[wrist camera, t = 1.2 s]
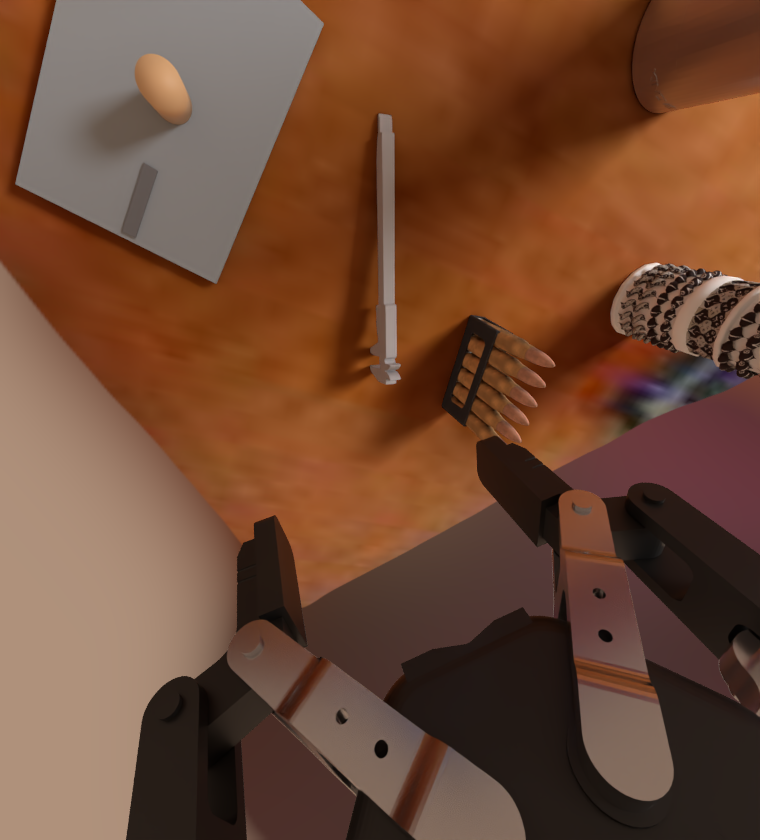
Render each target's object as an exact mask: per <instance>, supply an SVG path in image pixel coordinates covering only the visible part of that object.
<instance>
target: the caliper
mask: <svg viewBox="0 0 760 840" xmlns="http://www.w3.org/2000/svg"><path fill="white" fill-rule="evenodd" d="M376 164H377V224H378V293H379V305H376V315H377V319H376V325H377V334H378V343H377V344H375V345H374V346H373V347H371V348H370V353H372V355H375V356H379V357H380V365H370V370H371V372H372V373H373V375H374V376H375V377H376V378H377V380H378V381H379V382H381V383H384V384H396V380H400V379H401V378H400V375H399V374H398V372H397V371H395V370H396V369H399V367H400V366H401V364H398V363H396V362H395V358H396V357H397V332H396V304H395V156H394V133H392V118H391V115H386V114H378V137H377V161H376Z"/></svg>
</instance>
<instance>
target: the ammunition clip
mask: <svg viewBox="0 0 760 840" xmlns="http://www.w3.org/2000/svg"><path fill="white" fill-rule="evenodd" d="M494 345H495V346H496V347H495V346H494ZM497 347H498V348H497ZM506 352H508V353H509V354H511V355H513V356H516V357H519V358H522V359H525V360H527V361H529V362H531V363H534V364H536V365H539V366H543V367H549V368H551V367H555V363H554V362H553V360H552V359H551V358H550V357H549V356H548V355H546V354H545V353H544V352H542V351H540V350H538V349H536V348H535V347H534V346H532V345H530V344H529V343H528V342H527V341H526V340H524V339H522V338H520V337H518V336H516V335H514V334H513V333H511V332H509V331H508V330H506V329H504V328H502V327H501V326H499V325H497V324H495V323H494V322H492V321H490V320H488V319H487V318H485V317H480V316H474V315H471V316H470V317H469V320H468V323H467V327H466V330H465V333H464V336H463V339H462V342H461V346H460V349H459V352H458V355H457V358H456V361H455V365H454V368H453V371H452V374H451V377H450V380H449V384H448V387H447V390H446V393H445V396H444V399H443V403H442V407H443V408H444V409H445V410H446V411H447V412H448V413H449V414H450V415H452V416H453V417H454V418H455V419H456V420H457V421H458V422H459V423H461V424H462V425H463V426H467V427H468V428H469V429H471V430H472V431H473V432H474V433H475V434H476V435H477V436H478V437H479V438H480V439H481V440H484V439H487V438H489V437H492V436H498V437H499V438H500V436H499V435H498V434H497V433H496V432H495V431H494V429H496V430H497V431H499V432H500V433H501V434H502V435H503V436H505V437H506V438H508V439H510V440H512V441H514V442H518V443H521V442H522V441H521V438H520V436H519V434H518V433H517V431H516V430H515V429H514V428H513V427H512V426H511V425H510V424H509V423H508V422H507V421H506V420H505V419H504V418H503V417H502V416H501V415H500V413H499V412H501V413H502V414H504V415H506V416H507V417H508V418H510V419H511V420H513V421H515V422H517V423H519V424H522V425H527V426H528V425H529V421H528V419H527V418H526V416H525V415H524V414H523V413H522V412H521V411H520V410H519V409H518V408H517V407H516V406H515V405H513V404H512V403H511V402H510V401H509V400H508V399H507V398H506V396H505V395H503V394H506V395H507V396H509V397H511V398H513V399H514V400H516V401H517V402H519V403H521V404H523V405H526V406H529V407H537V403H536V401H535V400H534V398H533V397H532V396H531V395H530V394H529V393H528V392H527V391H525V390H524V389H523V388H521V387H520V386H519V385H518V384H516V383H515V382H514V381H513V380H512V379H511V378H510V377H509V376H507V375H510V376H513V377H515V378H517V379H519V380H521V381H523V382H524V383H526V384H529V385H531V386H534V387H538V388H545V387H546V384H545V382H544V381H543V380H542V379H541V377H540V376H538V375H537V374H536V373H535V372H534V371H532V370H530V369H529V368H528V367H526V366H525V365H523V364H522V363H521V362H520V361H519V360H518V359H516V358H515V357H513V356H511V355H509V354H508V353H506ZM490 364H491V365H490ZM501 371H502V372H501ZM504 373H505V374H504ZM506 374H507V375H506ZM502 393H503V394H502ZM498 411H499V412H498ZM492 427H493V428H494V429H493V428H492ZM500 439H501V438H500ZM501 440H502V439H501Z"/></svg>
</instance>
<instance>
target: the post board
mask: <svg viewBox="0 0 760 840" xmlns="http://www.w3.org/2000/svg"><path fill="white" fill-rule="evenodd" d="M323 25H324V23H323V22H322V21H321V20H320V19H319V18H318V17H317V16H316V15H315V14H314V13H313V12H312V11H311V10H310V9H309V8H308V7H307V6H305V5H304V4H303V3H302V2H301V1H300V0H56V4H55V9H54V13H53V18H52V22H51V27H50V31H49V35H48V40H47V44H46V49H45V53H44V58H43V62H42V67H41V71H40V76H39V80H38V85H37V89H36V94H35V98H34V102H33V107H32V111H31V116H30V120H29V125H28V129H27V134H26V138H25V143H24V147H23V152H22V156H21V161H20V165H19V169H18V174H17V178H16V183H15V184H16V185H18V186H20V187H22V188H24V189H26V190H28V191H30V192H32V193H34V194H36V195H38V196H40V197H42V198H44V199H46V200H48V201H50V202H52V203H54V204H56V205H58V206H60V207H62V208H64V209H66V210H68V211H70V212H72V213H74V214H76V215H78V216H80V217H82V218H84V219H86V220H89V221H91V222H93V223H95V224H97V225H99V226H101V227H103V228H105V229H107V230H109V231H111V232H113V233H115V234H117V235H119V236H121V237H123V238H125V239H127V240H129V241H131V242H133V243H135V244H137V245H139V246H141V247H143V248H145V249H147V250H149V251H151V252H153V253H155V254H157V255H159V256H161V257H163V258H165V259H167V260H169V261H171V262H173V263H175V264H177V265H179V266H181V267H183V268H185V269H187V270H189V271H191V272H193V273H195V274H197V275H199V276H201V277H203V278H205V279H207V280H209V281H211V282H213V283H215V284H217V281H218V279H219V277H220V274H221V272H222V269H223V267H224V264H225V262H226V260H227V257H228V255H229V252H230V250H231V248H232V245H233V243H234V240H235V238H236V235H237V233H238V231H239V228H240V226H241V223H242V221H243V218H244V216H245V214H246V211H247V209H248V206H249V204H250V202H251V199H252V197H253V194H254V192H255V189H256V187H257V185H258V182H259V180H260V177H261V175H262V172H263V170H264V168H265V165H266V163H267V160H268V158H269V156H270V153H271V151H272V148H273V146H274V143H275V141H276V139H277V136H278V134H279V131H280V129H281V126H282V124H283V122H284V119H285V117H286V114H287V112H288V110H289V107H290V105H291V102H292V100H293V97H294V95H295V93H296V90H297V88H298V85H299V83H300V80H301V78H302V76H303V73H304V71H305V68H306V66H307V64H308V61H309V59H310V56H311V54H312V51H313V49H314V47H315V44H316V42H317V39H318V37H319V34H320V32H321V30H322V27H323Z"/></svg>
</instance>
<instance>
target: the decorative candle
mask: <svg viewBox="0 0 760 840" xmlns="http://www.w3.org/2000/svg"><path fill="white" fill-rule="evenodd" d="M610 316H611V325H612V326H613V328H614V329H615V331H616V332H618V333H621V334H624V335H625V336H630V335H632V338H633V339H637V340H641V339H643V342H644V343H648V342H650V341H651V344H652V345H657V346H658V347H659V348H664V349H666V350H670V351H671V352H673V353H676V352H679V351H681V352H685V353H688V354H691V355H694V356H702V357H705V358H708V359H711V360H714V362H715V364H716V366H717V367H719V369H720V370H725V371H727V372H731V371H733V370H735V369H736V370H737V376H739V377H743V378H746V379H749V378H751V377H753V376H755V375H758V374H760V283H756V282H749V281H744V280H742V279H740V278H737V277H730V276H727V275H722V273H721V272H720V271H714V272H706V271H705V270H704V269H698V270H697V271H696V270H693V269H690V268H689V267H687V266H679V267H676V266H674V265H673V264H666V265H661V264H659V263H651V264H645V265H643V266H642V267H640V268H638V269H637V270H635V271H634V272H632V273H631V274H630V276H629V277H628V278H627V279H626V280H625V281H624V282H623V283H622V285H621V286H620V288H619V290H618V292H617V294H616V296H615V297H614V300H613V304H612V308H611V312H610ZM650 338H651V339H650Z"/></svg>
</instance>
